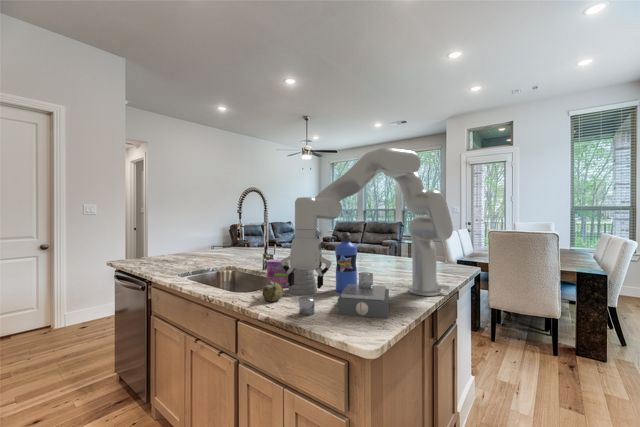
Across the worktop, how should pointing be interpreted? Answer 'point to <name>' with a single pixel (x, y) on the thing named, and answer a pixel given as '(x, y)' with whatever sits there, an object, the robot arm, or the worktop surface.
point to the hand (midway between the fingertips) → (305, 286)
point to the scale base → (364, 306)
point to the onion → (272, 291)
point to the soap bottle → (303, 283)
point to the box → (277, 272)
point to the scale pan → (364, 292)
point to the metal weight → (365, 280)
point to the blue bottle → (345, 263)
